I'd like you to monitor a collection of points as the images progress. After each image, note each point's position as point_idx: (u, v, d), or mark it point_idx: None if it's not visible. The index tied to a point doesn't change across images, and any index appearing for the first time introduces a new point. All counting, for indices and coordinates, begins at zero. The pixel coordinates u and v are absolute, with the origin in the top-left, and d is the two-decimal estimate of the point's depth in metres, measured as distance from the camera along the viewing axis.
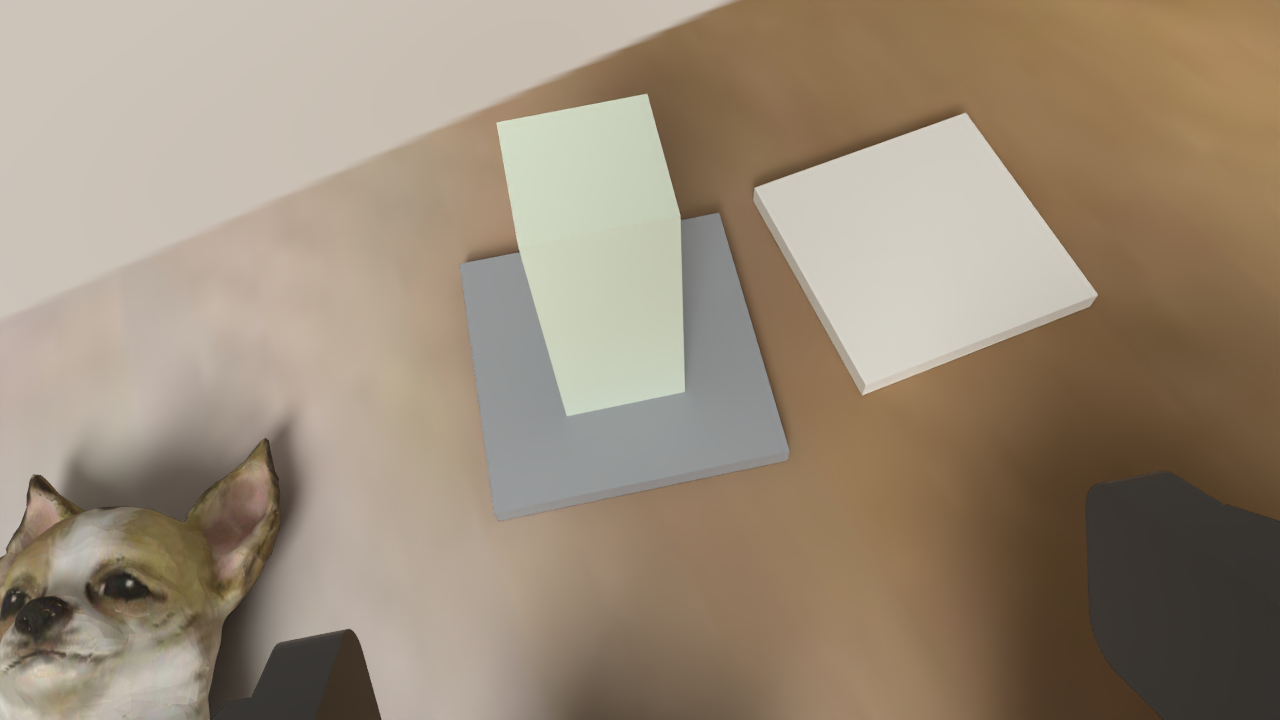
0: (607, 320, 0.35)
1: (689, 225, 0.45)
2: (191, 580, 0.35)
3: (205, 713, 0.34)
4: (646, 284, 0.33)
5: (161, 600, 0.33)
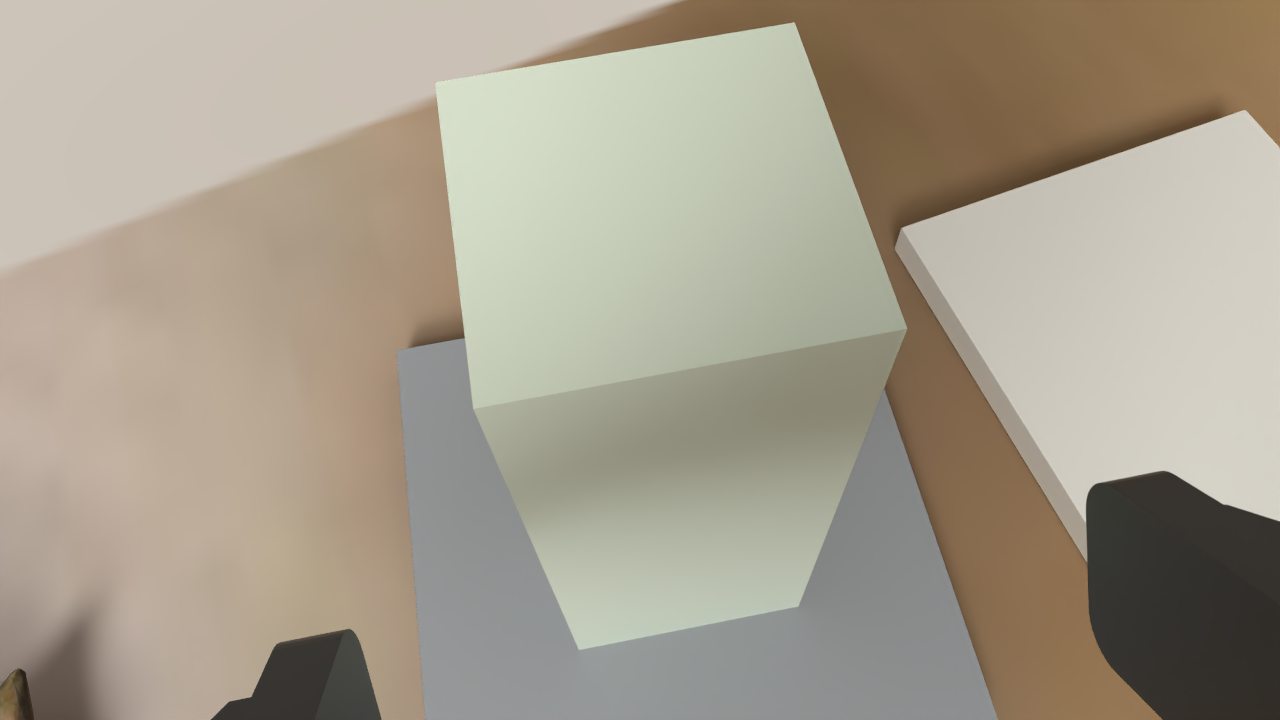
0: (679, 525, 0.16)
1: None
2: None
3: None
4: (777, 465, 0.14)
5: None
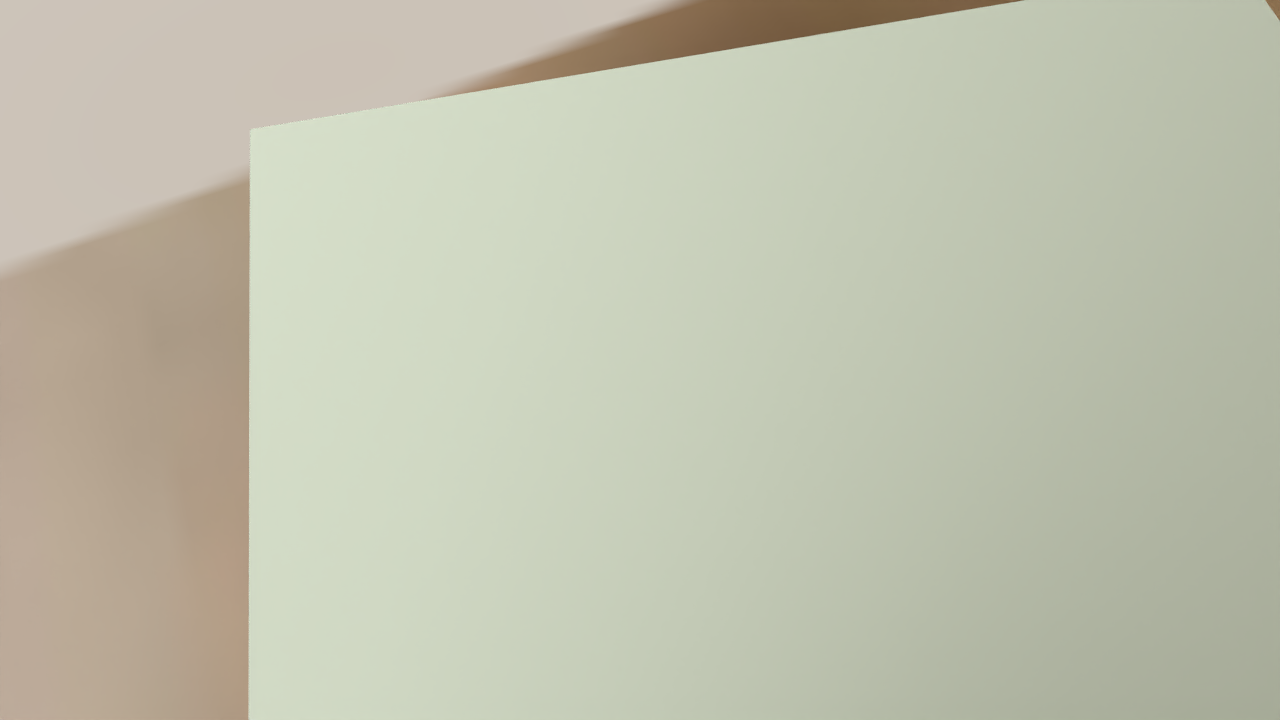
0: None
1: None
2: None
3: None
4: None
5: None
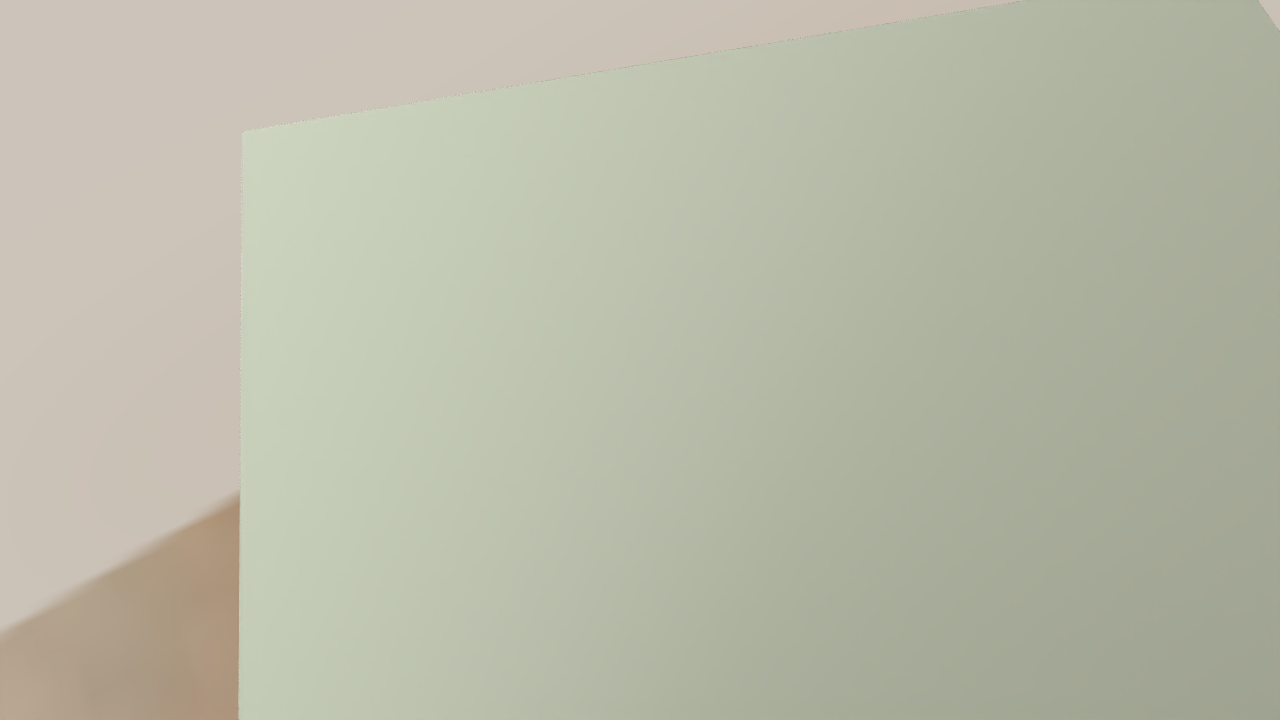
0: None
1: None
2: None
3: None
4: None
5: None
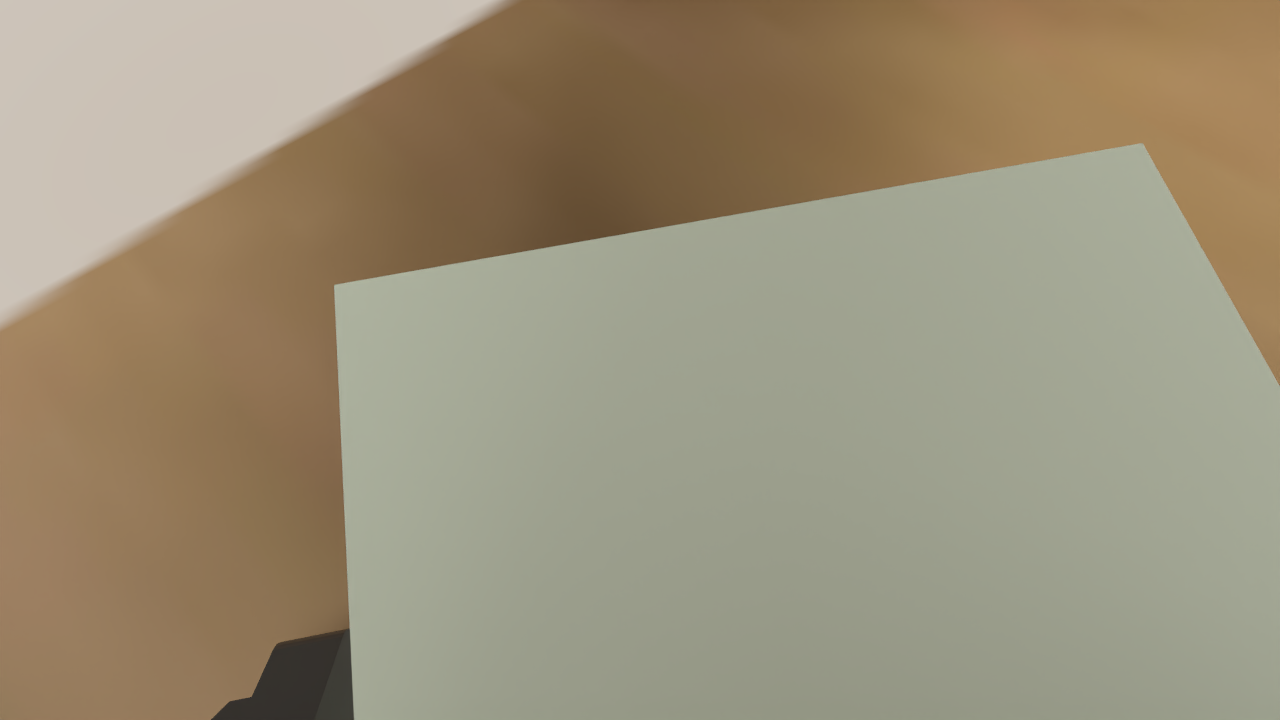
0: None
1: None
2: None
3: None
4: None
5: None
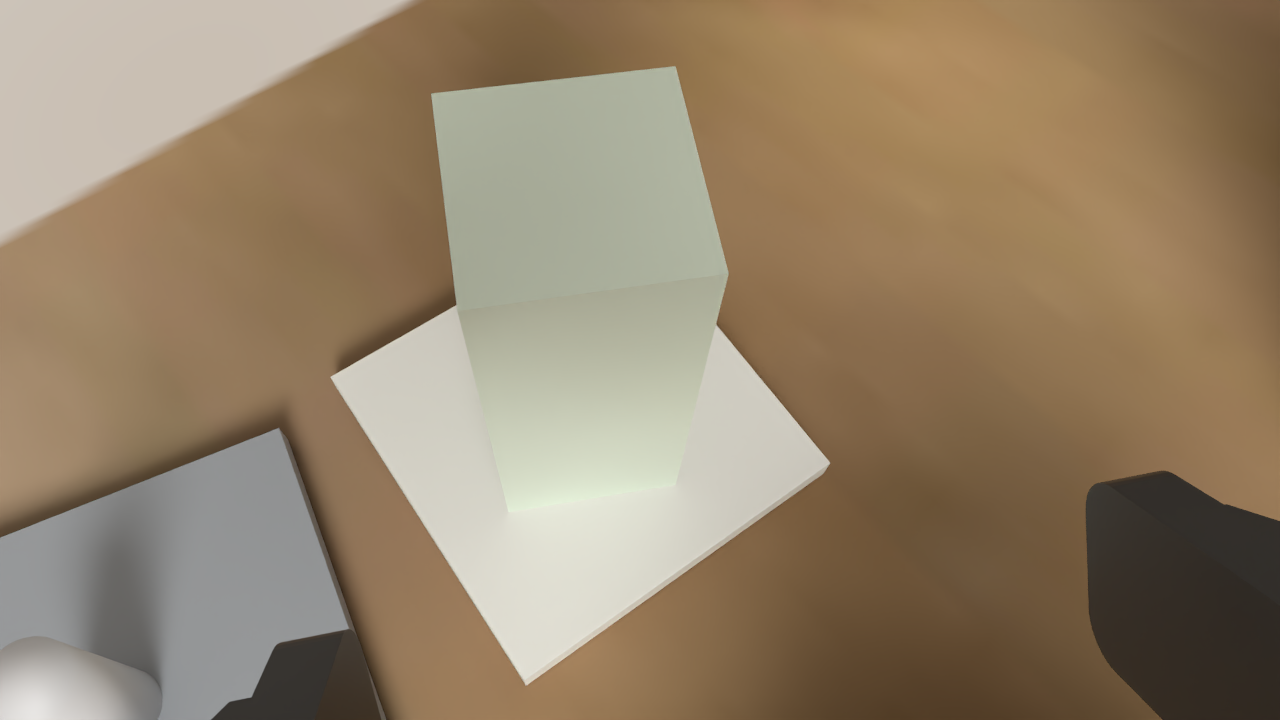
0: (585, 406, 0.23)
1: (234, 457, 0.29)
2: None
3: None
4: (653, 363, 0.21)
5: None
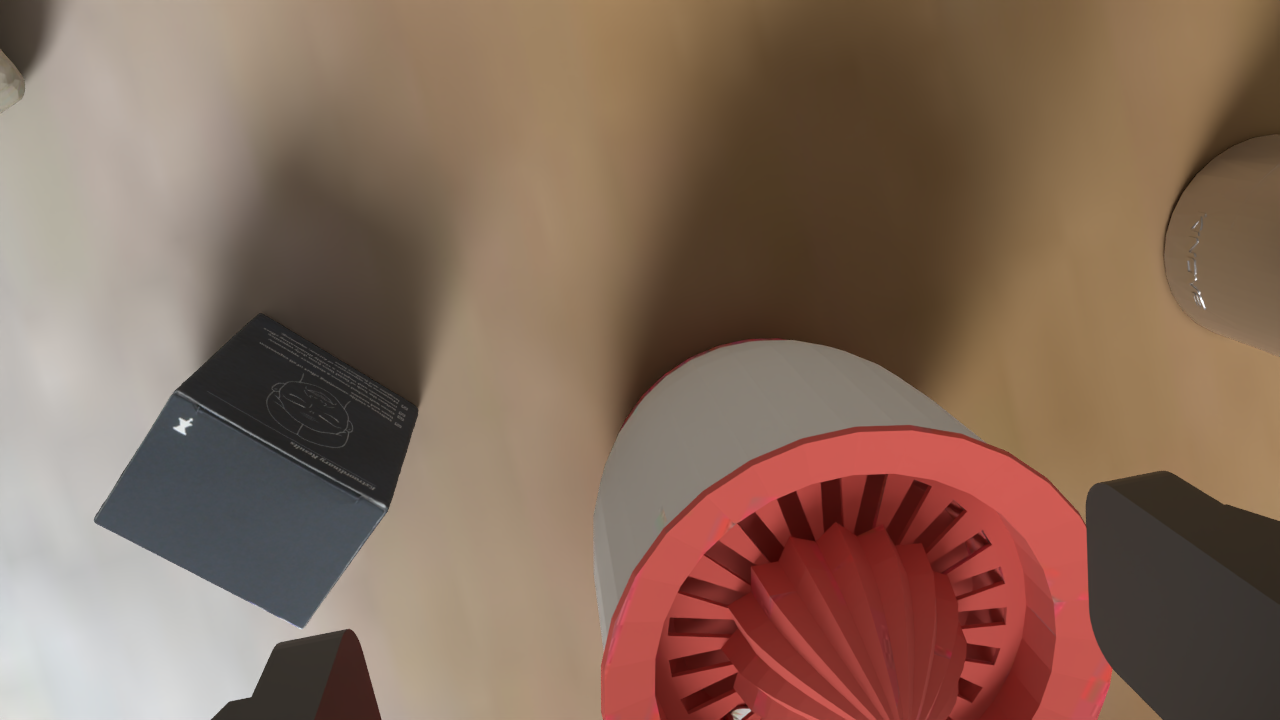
0: None
1: None
2: None
3: None
4: None
5: None
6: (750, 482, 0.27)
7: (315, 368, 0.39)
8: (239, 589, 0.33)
